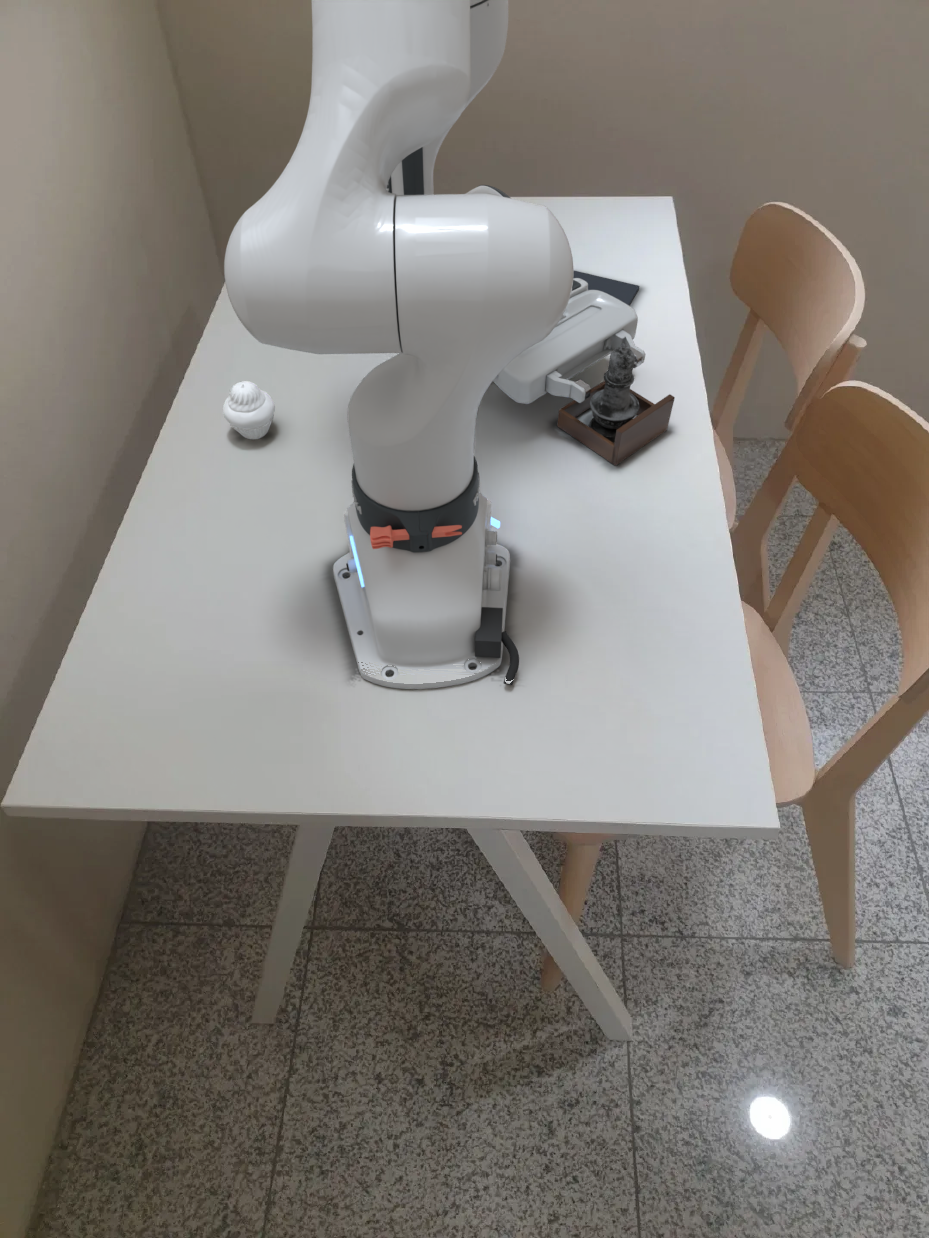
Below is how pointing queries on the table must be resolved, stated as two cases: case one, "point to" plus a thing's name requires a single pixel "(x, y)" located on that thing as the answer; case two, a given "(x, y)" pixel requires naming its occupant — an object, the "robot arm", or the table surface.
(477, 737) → the table surface
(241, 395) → the muffin
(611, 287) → the mat
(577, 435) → the wooden square frame
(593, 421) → the dark grey chess piece
